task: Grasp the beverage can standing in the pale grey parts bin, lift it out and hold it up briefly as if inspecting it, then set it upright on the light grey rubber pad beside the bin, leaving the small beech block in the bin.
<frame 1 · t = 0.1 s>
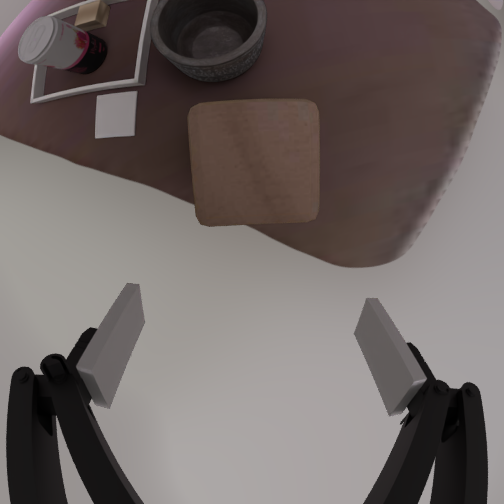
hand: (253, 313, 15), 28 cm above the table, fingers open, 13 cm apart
beverage can: (91, 56, 30), resting in parts bin
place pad: (115, 114, 35), on the table
parts bin: (92, 45, 29), on the table
planter: (218, 49, 32), on the table
beech block: (98, 19, 27), resting in parts bin
wooden block: (251, 148, 38), on the table
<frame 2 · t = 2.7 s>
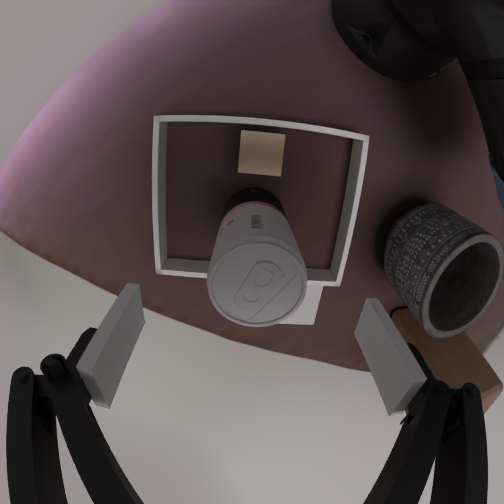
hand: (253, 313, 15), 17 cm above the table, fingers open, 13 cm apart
beverage can: (253, 215, 31), resting in parts bin
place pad: (292, 301, 36), on the table
parts bin: (255, 198, 30), on the table
planter: (411, 239, 33), on the table
beech block: (259, 150, 28), resting in parts bin
wooden block: (409, 327, 39), on the table
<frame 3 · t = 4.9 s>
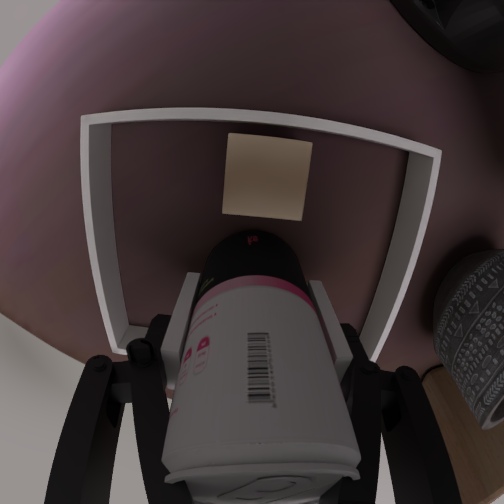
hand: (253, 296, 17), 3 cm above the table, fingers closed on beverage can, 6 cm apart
beverage can: (252, 271, 20), resting in parts bin, touching gripper
parts bin: (254, 246, 19), on the table
planter: (463, 289, 21), on the table
beech block: (262, 167, 17), resting in parts bin
wooden block: (440, 383, 28), on the table
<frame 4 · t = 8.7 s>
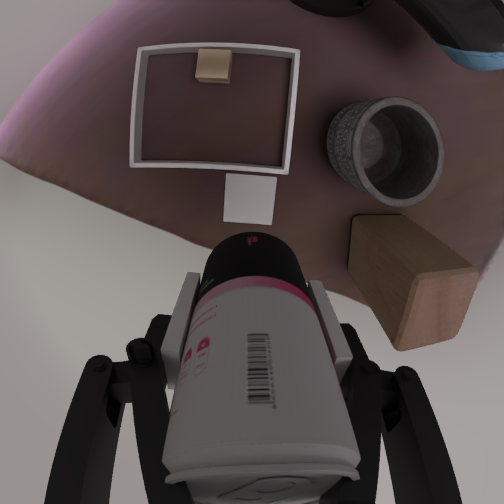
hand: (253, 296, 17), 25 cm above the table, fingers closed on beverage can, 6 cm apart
beverage can: (252, 271, 20), point 21 cm above the table, touching gripper
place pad: (249, 198, 39), on the table
parts bin: (212, 105, 34), on the table
planter: (358, 143, 36), on the table
beech block: (216, 69, 32), resting in parts bin
wooden block: (375, 242, 43), on the table
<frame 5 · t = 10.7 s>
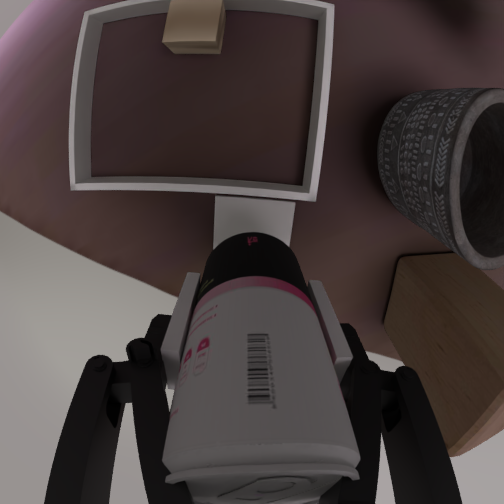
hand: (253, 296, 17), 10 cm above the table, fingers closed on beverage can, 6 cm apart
beverage can: (252, 272, 20), point 7 cm above the table, touching gripper
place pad: (252, 234, 26), on the table
parts bin: (194, 88, 20), on the table
planter: (413, 153, 23), on the table
beech block: (200, 34, 18), resting in parts bin
wooden block: (420, 287, 29), on the table
when the fingers open (5 cm above the table, at t = 12.4 s): beverage can drops 1 cm, resting on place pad.
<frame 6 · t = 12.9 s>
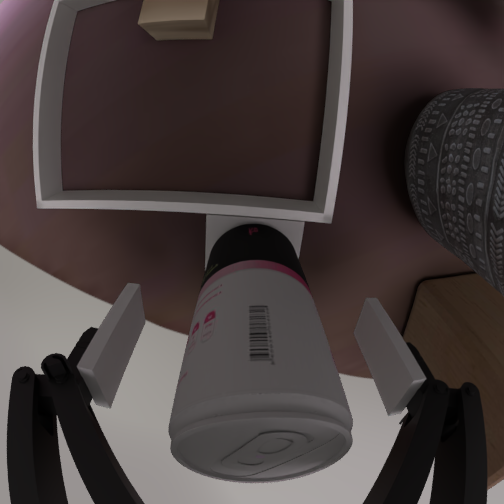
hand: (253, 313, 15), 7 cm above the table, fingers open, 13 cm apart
beverage can: (252, 261, 21), resting on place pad
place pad: (251, 260, 21), on the table
parts bin: (179, 80, 16), on the table
planter: (441, 162, 18), on the table
beech block: (188, 17, 14), resting in parts bin
wooden block: (439, 311, 25), on the table
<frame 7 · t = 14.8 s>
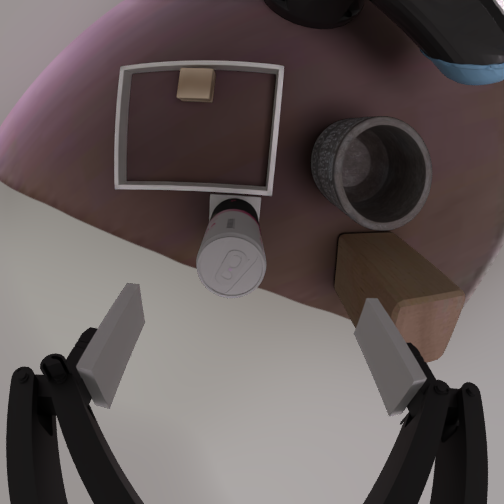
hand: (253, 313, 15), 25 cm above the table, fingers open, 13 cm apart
beverage can: (234, 219, 39), resting on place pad
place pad: (234, 219, 40), on the table
parts bin: (196, 124, 34), on the table
planter: (345, 161, 37), on the table
beech block: (199, 88, 32), resting in parts bin
wooden block: (362, 259, 43), on the table
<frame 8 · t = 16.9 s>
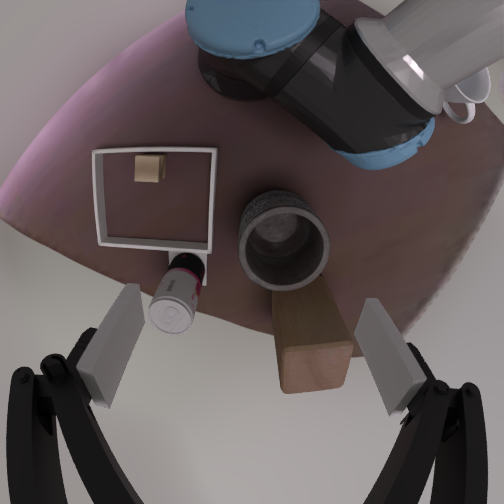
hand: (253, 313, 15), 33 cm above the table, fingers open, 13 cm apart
beverage can: (188, 267, 51), resting on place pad
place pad: (188, 266, 51), on the table
mug: (427, 81, 36), on the table
parts bin: (154, 196, 45), on the table
planter: (275, 220, 48), on the table
beech block: (154, 165, 43), resting in parts bin
wooden block: (296, 296, 54), on the table
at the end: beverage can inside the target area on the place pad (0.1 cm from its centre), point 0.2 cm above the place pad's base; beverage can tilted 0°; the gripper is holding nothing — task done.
